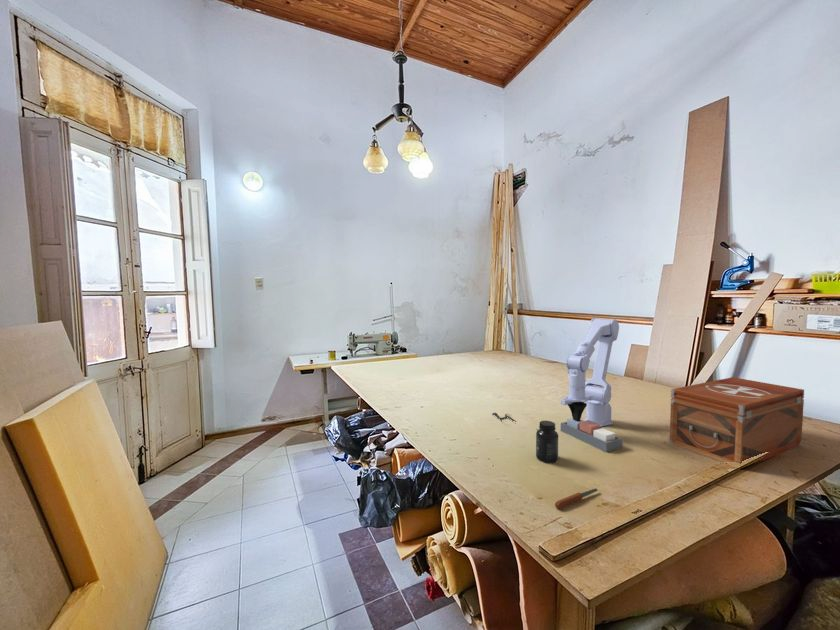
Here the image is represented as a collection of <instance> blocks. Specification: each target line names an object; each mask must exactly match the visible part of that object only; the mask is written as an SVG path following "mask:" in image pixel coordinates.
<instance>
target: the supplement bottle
mask: <svg viewBox="0 0 840 630" xmlns="http://www.w3.org/2000/svg"><path fill="white" fill-rule="evenodd" d="M538 427H539V428H538V429H536V433H535V437H536V438H535V457H536V459H537V460H538V461H539V462H542V463H545V464H555V463H557V462H558V461H559V433H558V432H557V431H556V422H554V421H550V420H541V421H539V425H538Z"/></svg>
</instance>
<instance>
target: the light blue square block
mask: <svg viewBox="0 0 840 630" xmlns="http://www.w3.org/2000/svg"><path fill="white" fill-rule="evenodd" d="M581 421H583V419H582V418H581V419H580V421H578V422H577V421H575V420H573V417H572V418H567V419H566V422H567V425H569V426H571V427H573V428H576V429H578V428H580V422H581Z"/></svg>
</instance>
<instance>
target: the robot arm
mask: <svg viewBox="0 0 840 630" xmlns="http://www.w3.org/2000/svg"><path fill="white" fill-rule="evenodd" d="M619 324H620V323H619V321H618V320H617V319H616V318H614V319H612V318H611V319H609V318H591V320H590V321H589V328H588V329H589V332H588V334H587V336H586V338H585V340H584V341H581V342H580V343H579V345H578V347H577V348H576V349H575V351H574V353H573V354H571V355H569V356H567V359H566V362H565V364H566V368H567V374H568V395H567V396H565V397H564V398H561V399H560V404H561V405H562V406H568V408H569V410H570V412H571V416H572V418H573V420H575V421H577V422H578V421H580V419H581V420H583V421H586V420H590V421H593V422H595V423H598V424H600V428H602V427H604V426H610V425H614V422H613V421H612V407H611V404H610V403H609V402H611V399H612V386H611V385H610V383H609V382H608V381H607V380H606V377H607V372H608V368H609V363H610V358H611V352H612V347H613V342H616V341H617V340H618V337H619V332H620V325H619ZM597 342H598V347H597V350H596V357H595V361H594V366H593V371H592V377H590V378H588V379H586V376H587V375H586V372H587V371H588V369H589V367H590V366H589V365H590V362H591V359H590V358H591V357H592V355H593V354H594V353H595V349H596V348H595V345H596V344H597ZM584 411H586V415H585V418H583V419H582V416H583V413H584Z"/></svg>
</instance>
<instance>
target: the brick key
mask: <svg viewBox="0 0 840 630" xmlns="http://www.w3.org/2000/svg"><path fill="white" fill-rule="evenodd" d="M597 429H601V427H600V424H598V423H595V422H593V421H590V420H586V421H581V422H580V430H582V431H584V432H586V433H589V434H593V432H594V430H597Z"/></svg>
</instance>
